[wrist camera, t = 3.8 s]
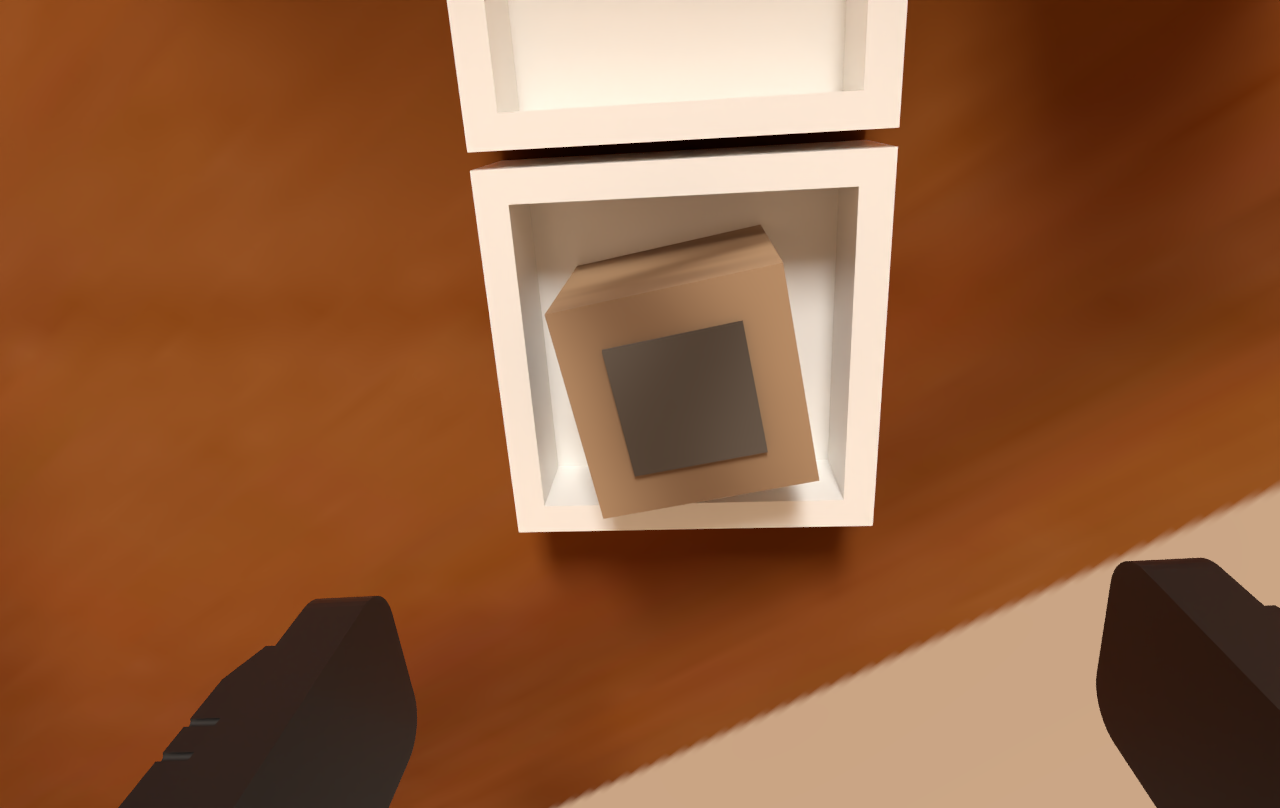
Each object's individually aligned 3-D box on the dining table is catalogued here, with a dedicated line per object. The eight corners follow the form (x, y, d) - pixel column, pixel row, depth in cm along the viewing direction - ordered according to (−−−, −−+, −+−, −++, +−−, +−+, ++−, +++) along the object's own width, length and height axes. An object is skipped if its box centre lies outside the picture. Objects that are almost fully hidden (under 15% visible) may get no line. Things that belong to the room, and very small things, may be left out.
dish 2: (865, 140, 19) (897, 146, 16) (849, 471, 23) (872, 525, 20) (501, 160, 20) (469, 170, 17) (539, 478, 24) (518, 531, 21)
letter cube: (760, 224, 20) (783, 264, 15) (790, 398, 21) (820, 483, 17) (571, 267, 20) (536, 318, 16) (616, 432, 22) (596, 523, 17)
